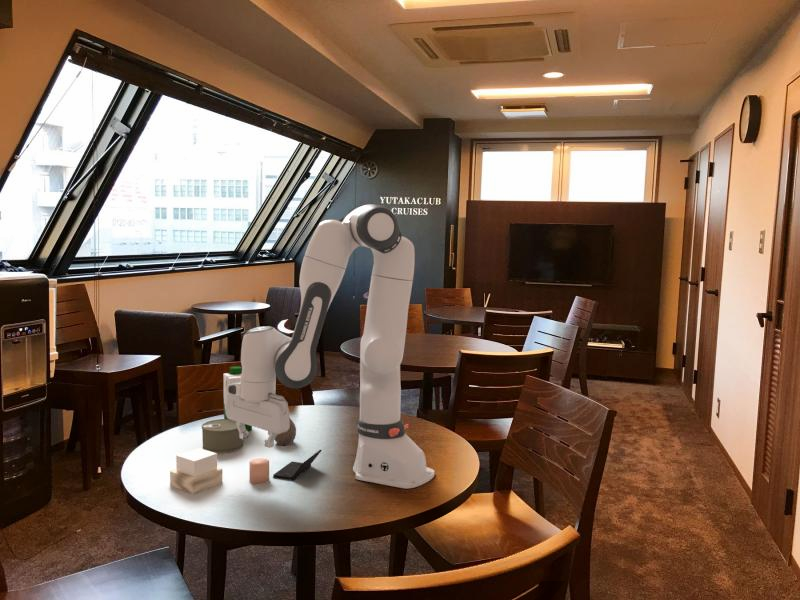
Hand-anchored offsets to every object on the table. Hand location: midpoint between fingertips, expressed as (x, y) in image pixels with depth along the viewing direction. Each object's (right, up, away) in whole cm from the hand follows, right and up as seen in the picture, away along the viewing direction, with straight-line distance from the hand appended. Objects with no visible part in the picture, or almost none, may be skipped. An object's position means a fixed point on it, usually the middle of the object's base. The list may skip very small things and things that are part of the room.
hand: (256, 442), depth 162 cm
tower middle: (-15, -6, -2) cm, 16 cm away
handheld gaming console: (+10, -10, +7) cm, 16 cm away
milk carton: (-16, -6, +44) cm, 47 cm away
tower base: (-15, -11, -2) cm, 18 cm away
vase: (+2, -7, +31) cm, 32 cm away
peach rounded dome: (+1, -10, +1) cm, 10 cm away
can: (-16, -8, +27) cm, 32 cm away
